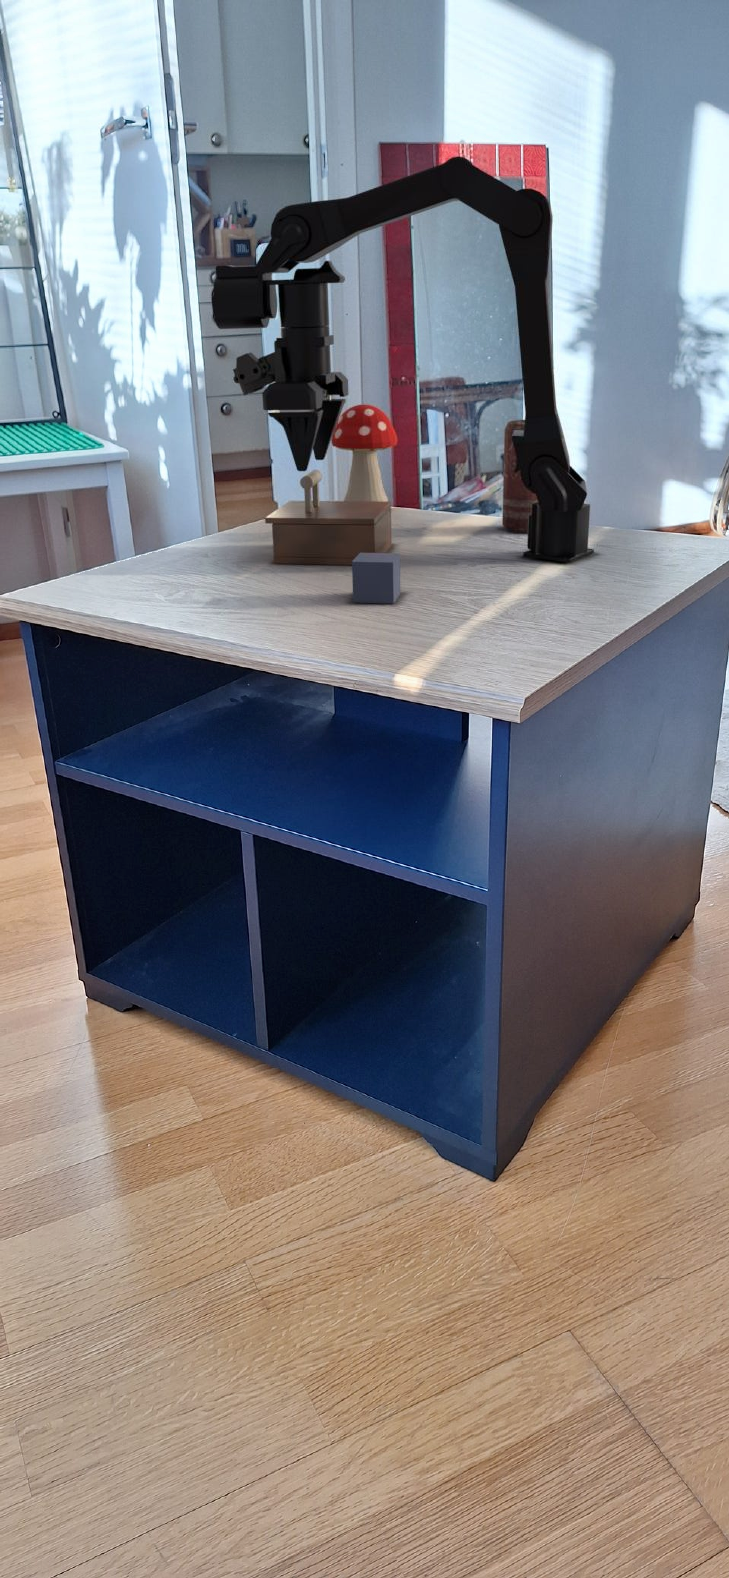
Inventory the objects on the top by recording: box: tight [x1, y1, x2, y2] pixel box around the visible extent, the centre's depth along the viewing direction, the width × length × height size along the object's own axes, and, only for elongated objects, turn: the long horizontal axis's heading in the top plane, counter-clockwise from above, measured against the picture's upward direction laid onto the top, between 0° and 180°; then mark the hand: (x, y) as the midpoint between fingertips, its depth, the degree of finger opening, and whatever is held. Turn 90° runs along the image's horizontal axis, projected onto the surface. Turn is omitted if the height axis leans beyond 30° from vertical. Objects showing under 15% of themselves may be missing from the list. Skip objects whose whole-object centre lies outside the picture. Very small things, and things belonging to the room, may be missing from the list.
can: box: [501, 419, 538, 534], centre depth 148 cm, size 6×6×14 cm
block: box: [351, 552, 402, 605], centre depth 119 cm, size 4×4×4 cm
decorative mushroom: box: [330, 403, 398, 502], centre depth 164 cm, size 10×9×15 cm
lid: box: [264, 469, 392, 525], centre depth 137 cm, size 13×12×5 cm
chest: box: [271, 507, 393, 566], centre depth 139 cm, size 13×12×5 cm
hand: (311, 465), depth 136 cm, fingers open, 9 cm apart
